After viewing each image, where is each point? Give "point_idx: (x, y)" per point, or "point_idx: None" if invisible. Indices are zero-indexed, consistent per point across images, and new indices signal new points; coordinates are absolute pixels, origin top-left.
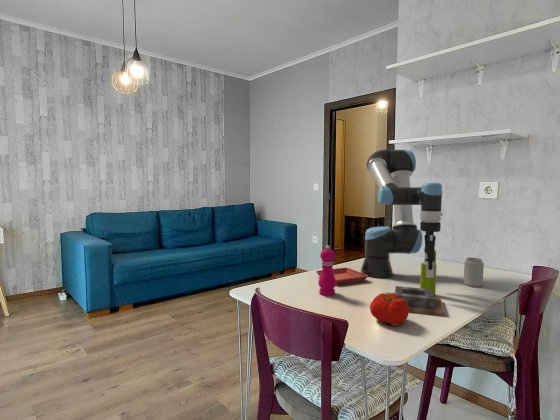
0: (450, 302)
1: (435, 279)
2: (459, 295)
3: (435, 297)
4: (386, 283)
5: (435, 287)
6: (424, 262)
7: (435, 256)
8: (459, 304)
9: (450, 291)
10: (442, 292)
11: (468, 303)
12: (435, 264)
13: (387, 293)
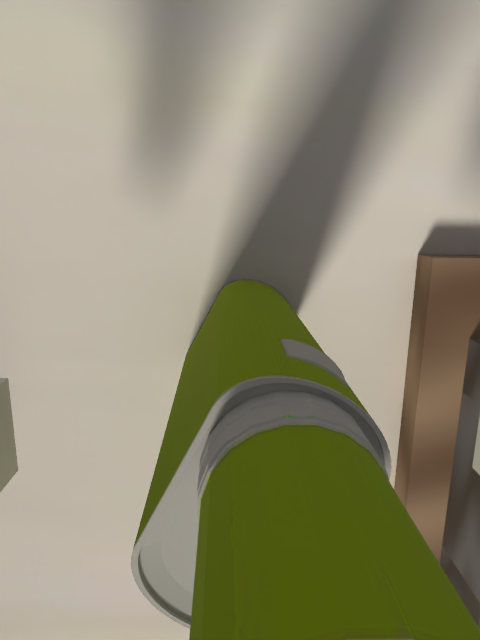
0: (419, 171)
1: (287, 317)
2: (173, 49)
3: (436, 300)
4: (38, 635)
5: (261, 293)
6: (142, 581)
7: (408, 538)
8: (457, 99)
9: (62, 121)
10: (130, 205)
11: (409, 5)
12: (331, 405)
13: None
